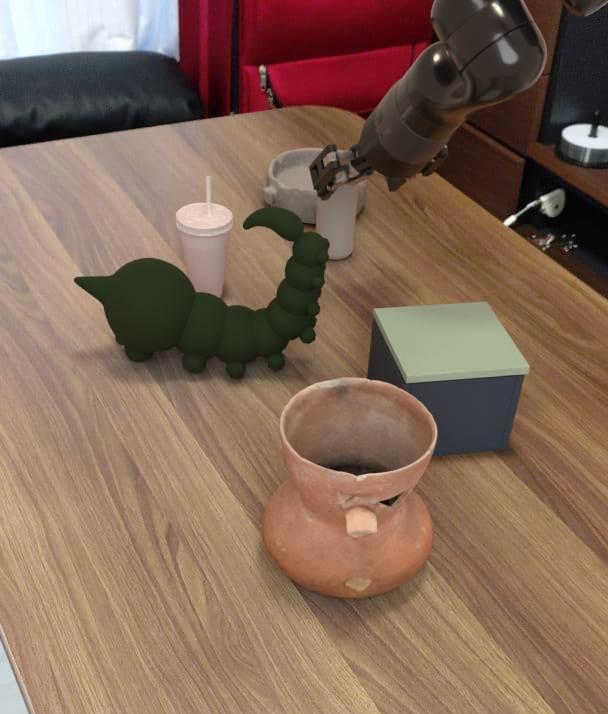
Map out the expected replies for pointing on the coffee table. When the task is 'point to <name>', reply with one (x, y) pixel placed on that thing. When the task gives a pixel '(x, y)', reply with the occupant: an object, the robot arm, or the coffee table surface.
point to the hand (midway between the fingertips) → (356, 187)
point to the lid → (449, 342)
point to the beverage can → (338, 219)
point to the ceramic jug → (352, 488)
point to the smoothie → (205, 242)
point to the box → (455, 403)
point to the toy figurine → (215, 305)
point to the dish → (298, 184)
